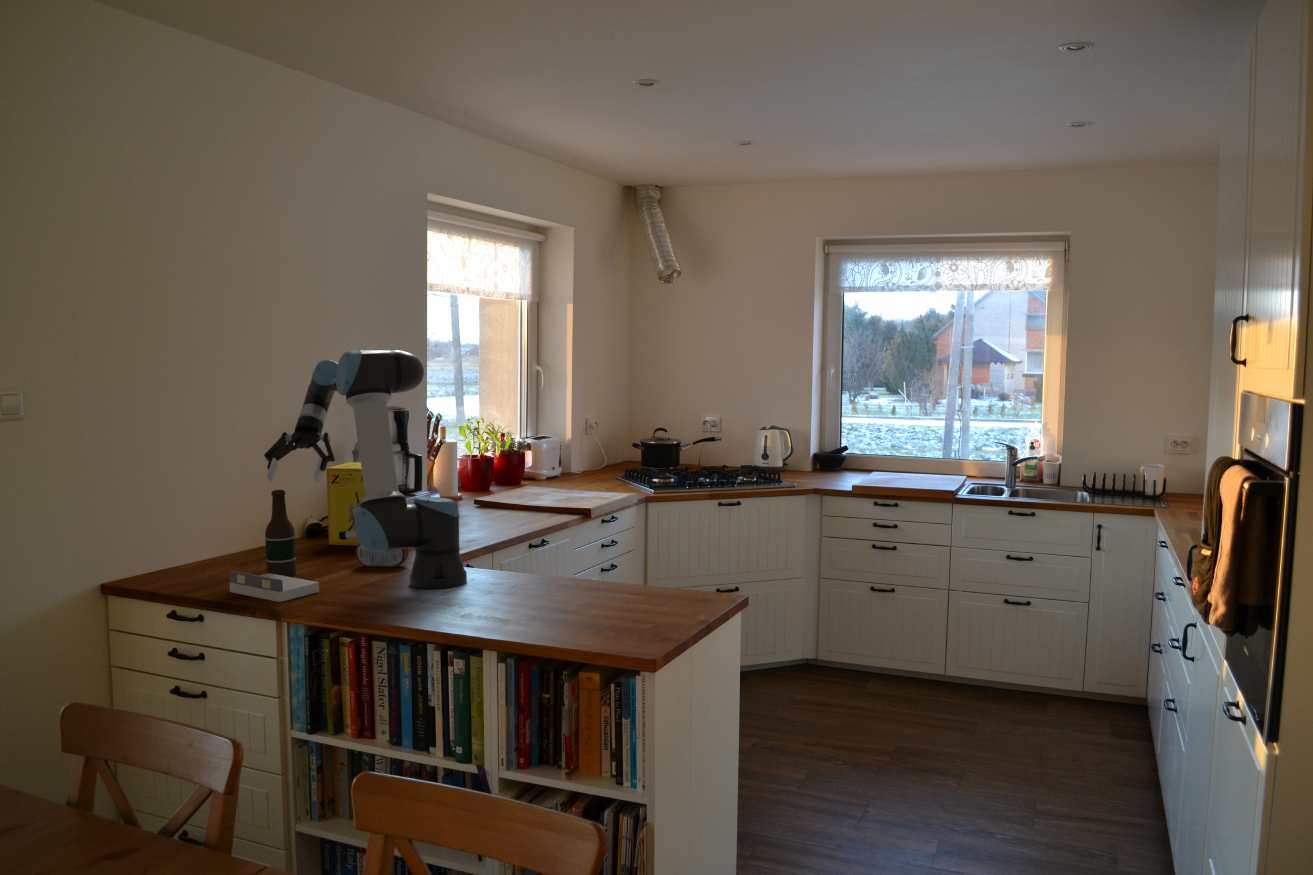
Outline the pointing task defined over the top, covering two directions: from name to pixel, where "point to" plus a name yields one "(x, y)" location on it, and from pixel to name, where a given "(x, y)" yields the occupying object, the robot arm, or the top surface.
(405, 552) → the tin
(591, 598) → the top surface
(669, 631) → the top surface
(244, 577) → the grey slab
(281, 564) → the beer bottle
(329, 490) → the packaging box
